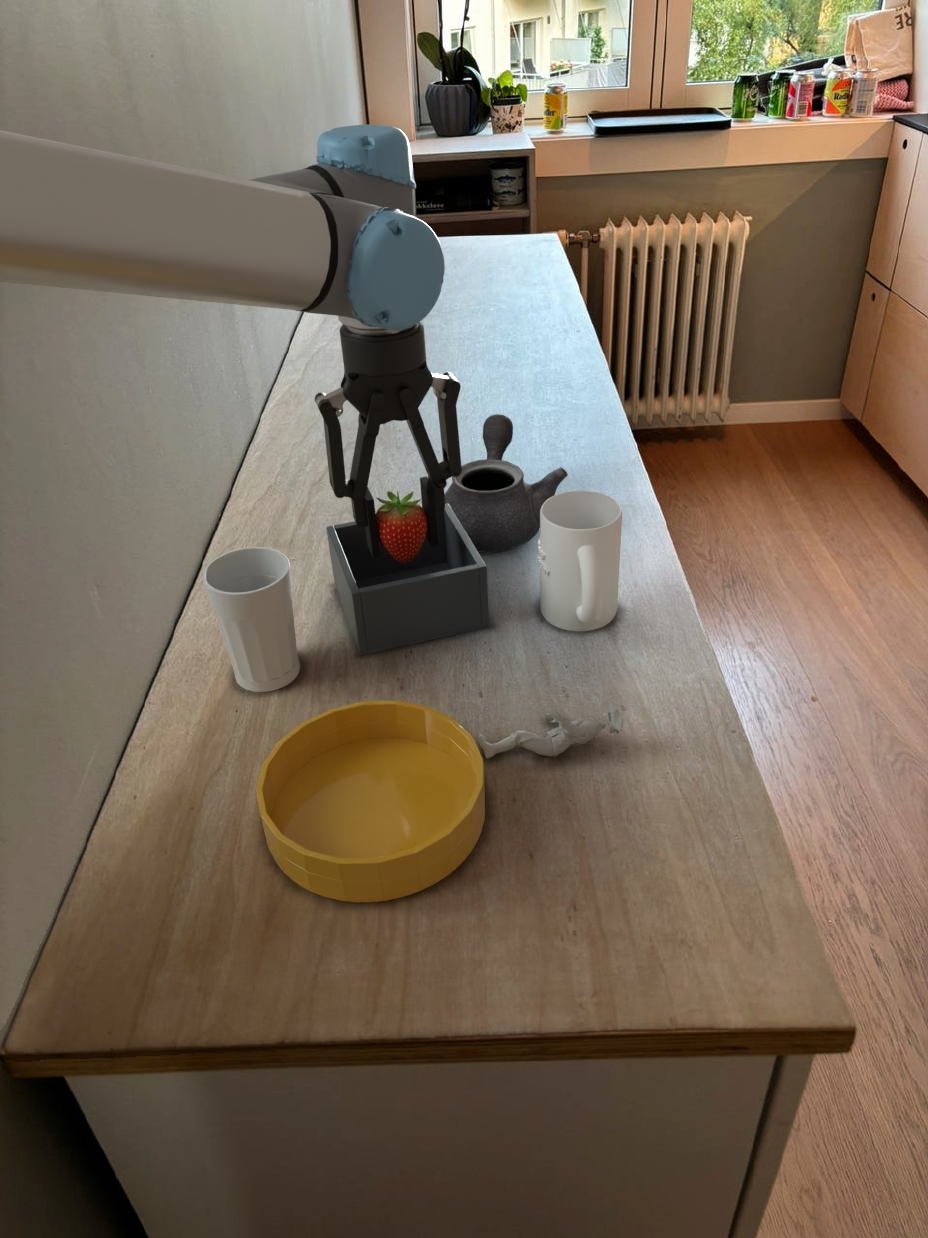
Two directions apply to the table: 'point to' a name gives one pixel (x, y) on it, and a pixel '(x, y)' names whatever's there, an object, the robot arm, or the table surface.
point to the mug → (579, 559)
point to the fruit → (401, 527)
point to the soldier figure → (555, 735)
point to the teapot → (499, 494)
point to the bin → (409, 587)
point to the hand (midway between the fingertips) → (402, 544)
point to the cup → (255, 615)
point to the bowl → (372, 800)
